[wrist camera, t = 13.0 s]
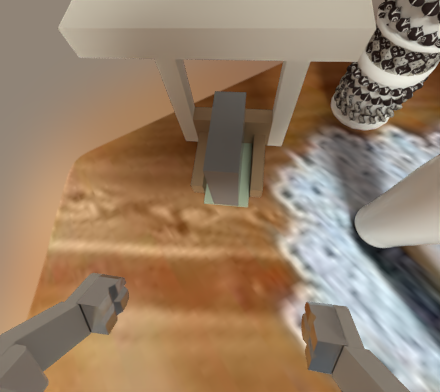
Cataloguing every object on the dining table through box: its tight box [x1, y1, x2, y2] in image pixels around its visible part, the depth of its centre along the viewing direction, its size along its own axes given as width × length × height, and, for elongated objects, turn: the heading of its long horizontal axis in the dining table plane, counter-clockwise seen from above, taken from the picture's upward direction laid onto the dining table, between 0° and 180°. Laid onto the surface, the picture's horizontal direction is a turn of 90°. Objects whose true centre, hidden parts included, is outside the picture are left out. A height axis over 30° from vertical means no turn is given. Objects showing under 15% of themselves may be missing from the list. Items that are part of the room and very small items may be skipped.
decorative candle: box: [331, 0, 440, 131], centre depth 21 cm, size 9×9×25 cm
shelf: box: [58, 0, 376, 207], centre depth 21 cm, size 12×14×22 cm
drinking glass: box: [355, 154, 440, 248], centre depth 20 cm, size 7×7×15 cm
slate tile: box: [203, 91, 246, 206], centre depth 26 cm, size 9×3×10 cm, turn 173°
